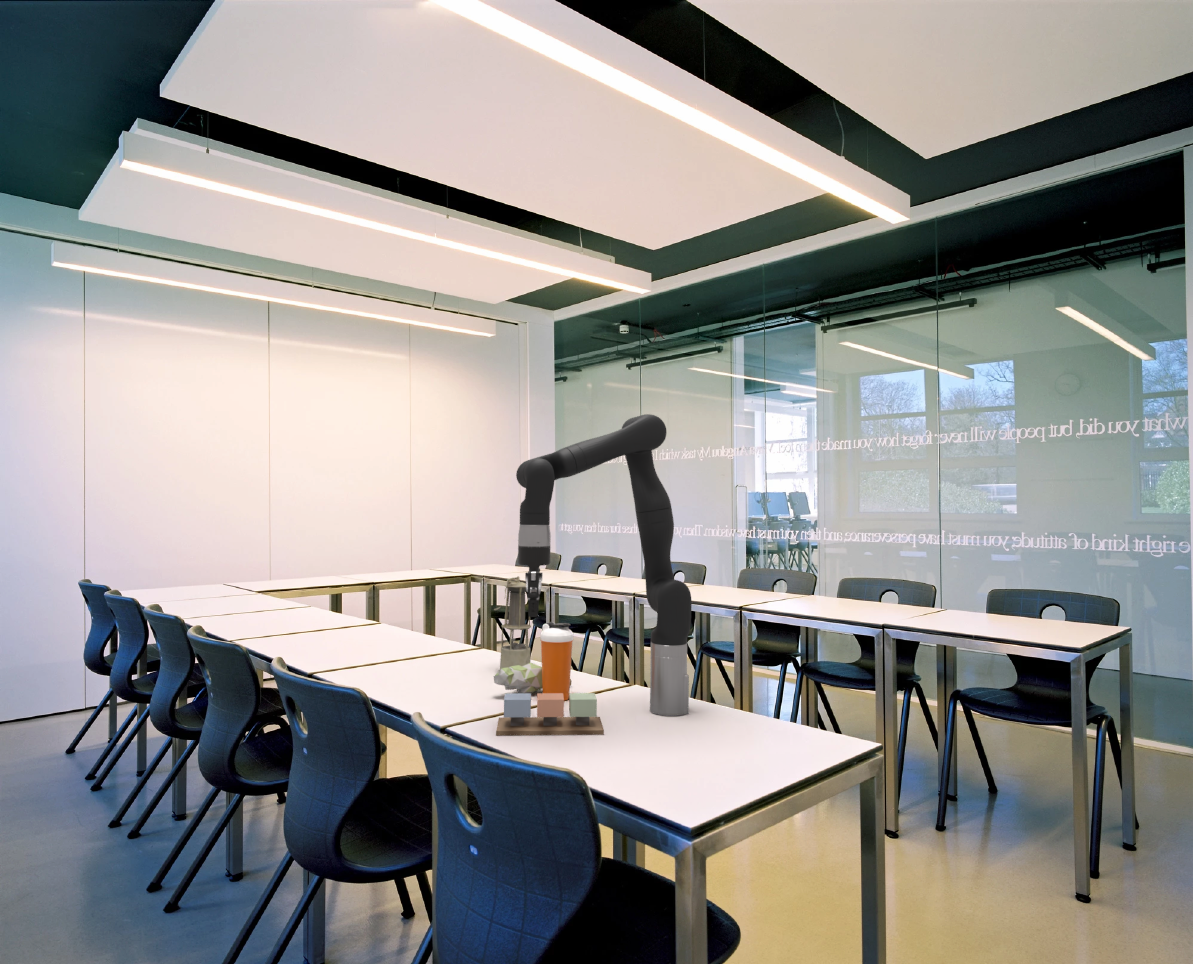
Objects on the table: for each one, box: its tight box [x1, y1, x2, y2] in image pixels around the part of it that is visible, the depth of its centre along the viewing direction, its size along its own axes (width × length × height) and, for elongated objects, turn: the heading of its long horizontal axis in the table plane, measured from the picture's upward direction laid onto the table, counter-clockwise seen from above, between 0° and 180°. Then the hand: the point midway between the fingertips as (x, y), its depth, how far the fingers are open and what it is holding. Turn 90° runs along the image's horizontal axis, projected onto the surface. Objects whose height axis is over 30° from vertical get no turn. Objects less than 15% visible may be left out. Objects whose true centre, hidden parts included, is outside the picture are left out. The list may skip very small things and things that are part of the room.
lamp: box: [493, 576, 532, 673], centre depth 226 cm, size 10×13×30 cm
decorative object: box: [493, 662, 572, 694], centre depth 202 cm, size 9×10×25 cm
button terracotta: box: [536, 692, 565, 717], centre depth 169 cm, size 6×6×4 cm
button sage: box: [568, 692, 598, 717], centre depth 169 cm, size 6×6×4 cm
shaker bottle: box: [539, 621, 574, 702], centre depth 196 cm, size 9×9×20 cm
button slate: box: [503, 692, 532, 717], centre depth 168 cm, size 6×6×4 cm
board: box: [495, 716, 605, 737], centre depth 168 cm, size 24×11×3 cm, turn 95°
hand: (533, 614), depth 170 cm, fingers open, 8 cm apart
